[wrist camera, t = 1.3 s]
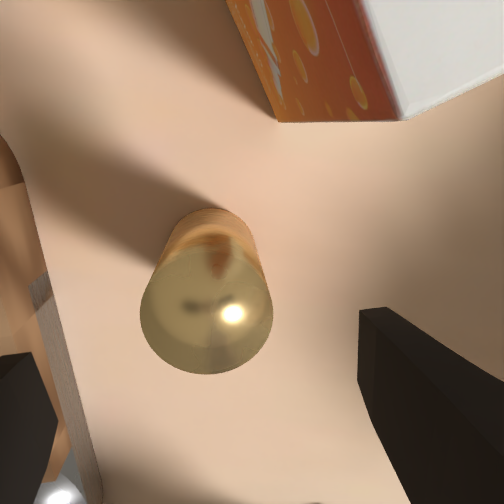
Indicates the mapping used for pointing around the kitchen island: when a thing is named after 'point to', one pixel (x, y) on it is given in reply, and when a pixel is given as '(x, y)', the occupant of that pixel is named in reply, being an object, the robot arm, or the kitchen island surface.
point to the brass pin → (207, 296)
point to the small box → (369, 54)
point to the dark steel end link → (66, 413)
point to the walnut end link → (24, 291)
